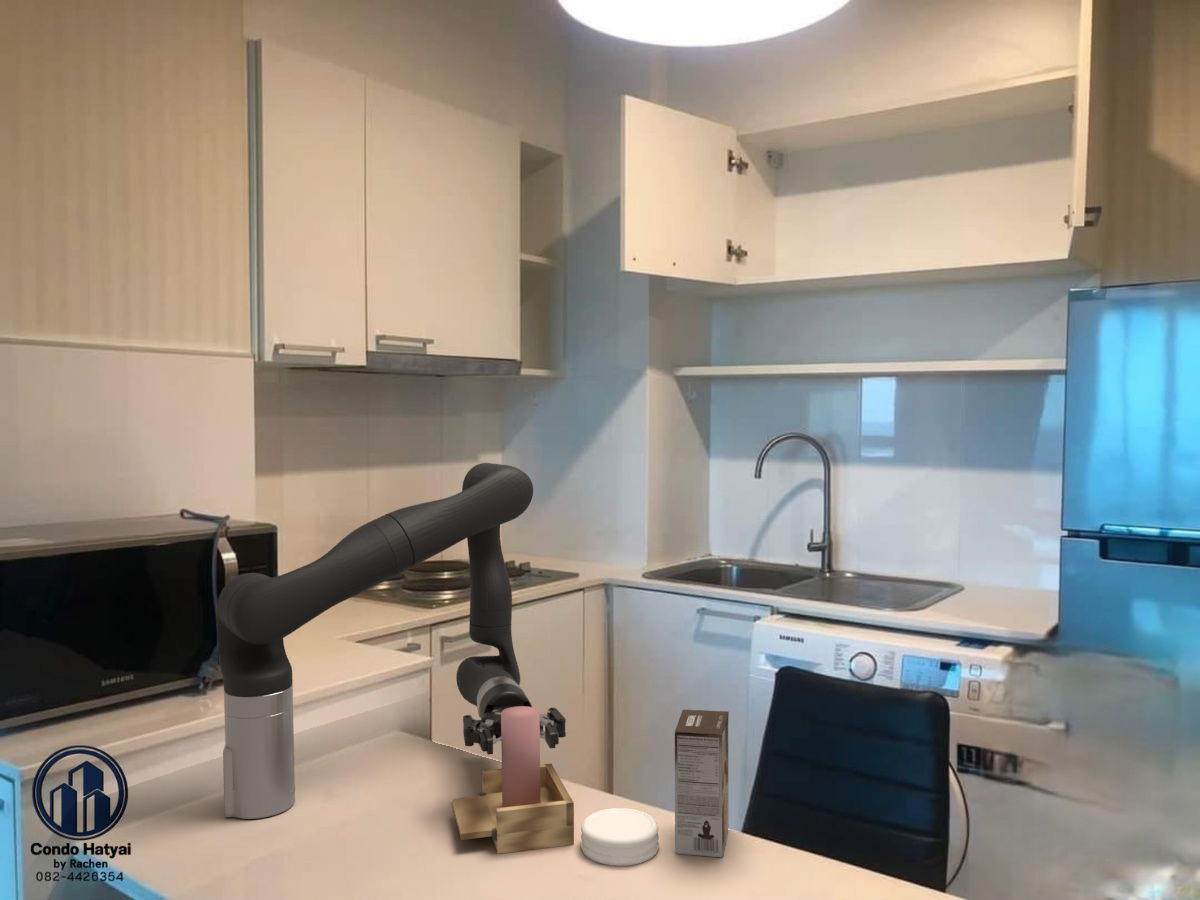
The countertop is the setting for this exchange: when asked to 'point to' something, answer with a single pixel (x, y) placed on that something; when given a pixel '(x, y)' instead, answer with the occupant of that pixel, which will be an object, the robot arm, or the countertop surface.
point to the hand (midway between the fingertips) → (522, 744)
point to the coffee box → (701, 783)
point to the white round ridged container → (619, 836)
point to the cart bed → (518, 815)
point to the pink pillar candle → (520, 756)
